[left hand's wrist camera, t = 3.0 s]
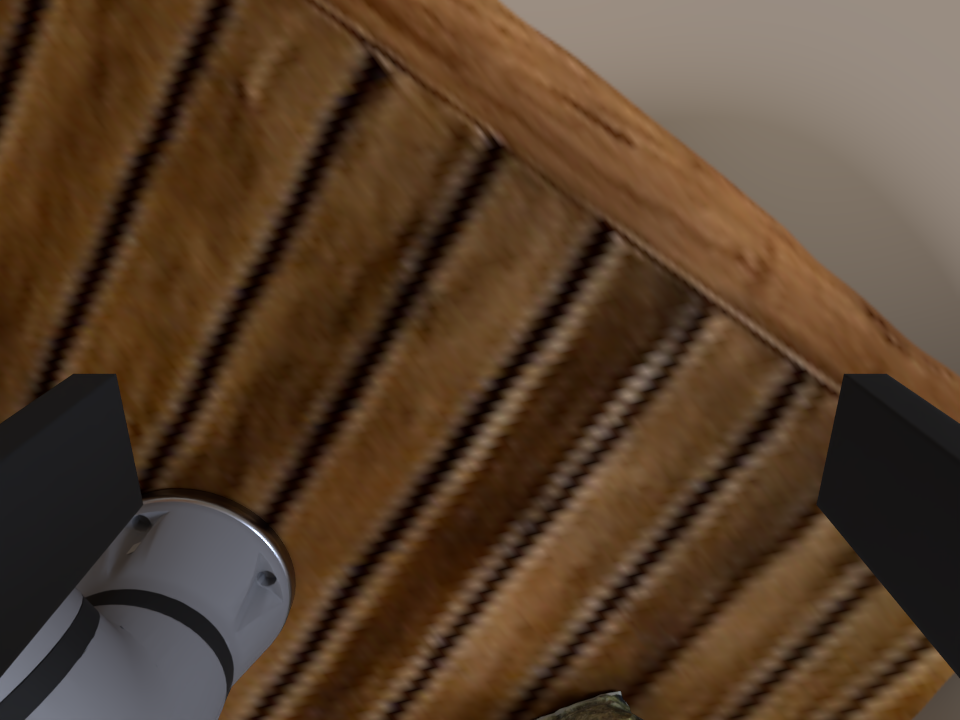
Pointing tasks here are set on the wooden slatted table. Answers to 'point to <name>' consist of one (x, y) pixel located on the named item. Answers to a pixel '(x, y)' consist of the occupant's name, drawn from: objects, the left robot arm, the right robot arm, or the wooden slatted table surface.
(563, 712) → the fossil
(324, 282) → the wooden slatted table surface
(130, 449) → the left robot arm
